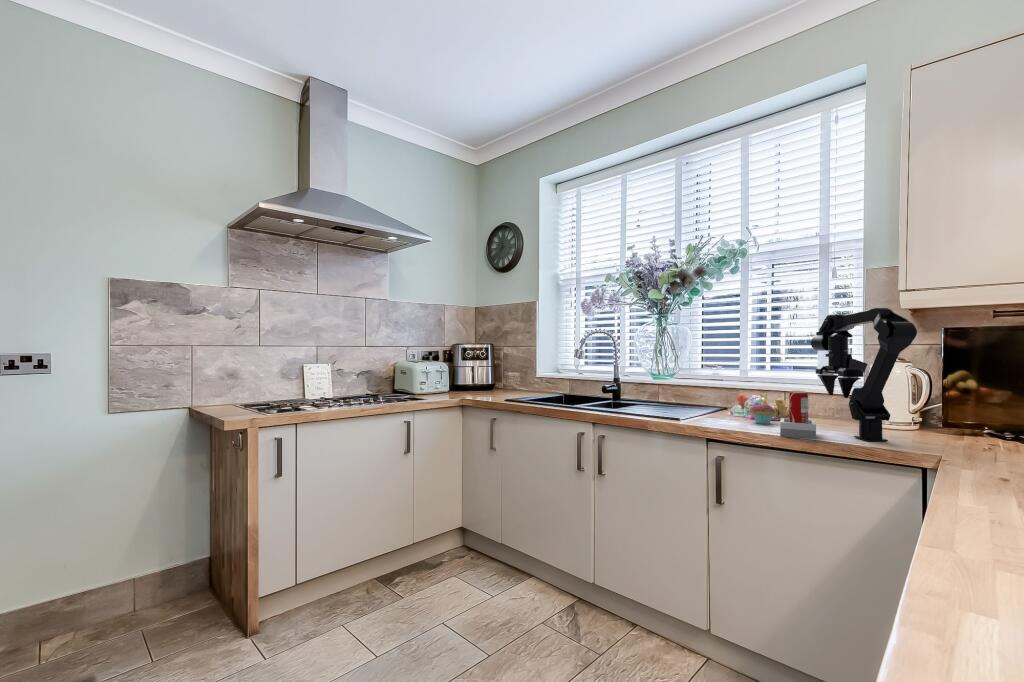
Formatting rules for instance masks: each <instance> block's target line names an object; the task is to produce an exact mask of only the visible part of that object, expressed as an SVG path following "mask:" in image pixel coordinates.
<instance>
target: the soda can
mask: <svg viewBox="0 0 1024 682" xmlns="http://www.w3.org/2000/svg"><path fill="white" fill-rule="evenodd" d="M788 409H789V418H788V419H789V422H791V423H807V424H808V420H809V395H808V391H806V390H798V389H797V390H790V391H789V394H788Z"/></svg>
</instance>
